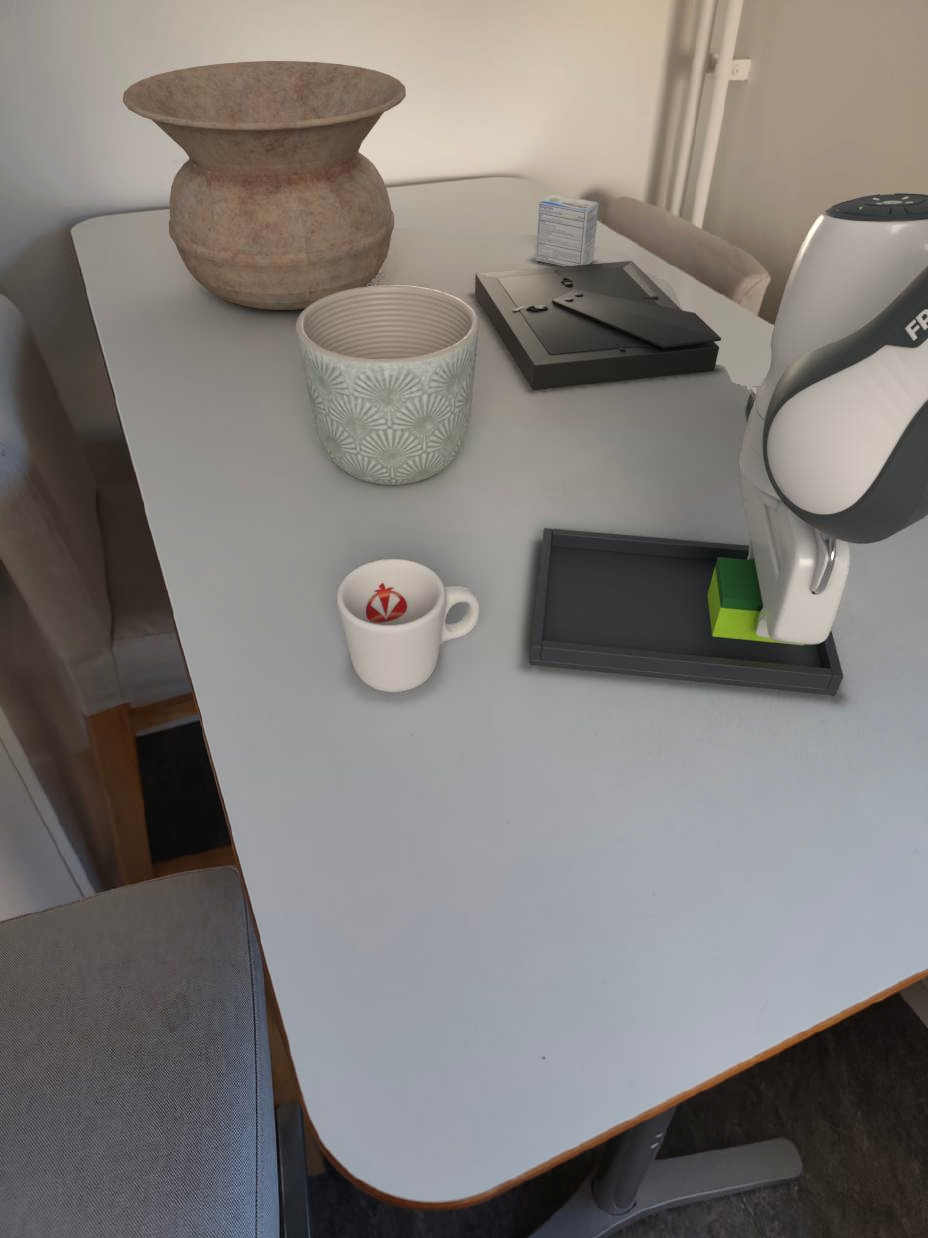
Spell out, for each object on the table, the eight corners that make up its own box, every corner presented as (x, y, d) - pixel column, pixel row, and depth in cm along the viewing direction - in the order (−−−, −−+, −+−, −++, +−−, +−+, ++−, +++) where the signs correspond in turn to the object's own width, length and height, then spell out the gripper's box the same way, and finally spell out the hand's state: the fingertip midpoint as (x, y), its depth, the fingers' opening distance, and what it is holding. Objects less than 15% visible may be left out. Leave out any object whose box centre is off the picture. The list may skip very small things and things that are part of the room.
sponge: (794, 602, 71) (808, 564, 68) (804, 645, 67) (819, 607, 64) (707, 594, 71) (717, 556, 68) (712, 636, 67) (723, 598, 65)
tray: (803, 568, 78) (810, 550, 77) (835, 695, 67) (844, 677, 65) (542, 545, 80) (543, 527, 79) (529, 665, 69) (531, 646, 67)
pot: (320, 232, 141) (302, 50, 124) (461, 295, 122) (463, 92, 106) (124, 285, 124) (72, 83, 107) (254, 369, 105) (217, 140, 88)
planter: (366, 406, 99) (356, 272, 89) (502, 442, 93) (508, 303, 83) (280, 480, 88) (257, 336, 77) (428, 526, 82) (425, 378, 72)
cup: (461, 618, 73) (462, 542, 67) (493, 684, 67) (497, 607, 62) (335, 645, 70) (325, 568, 65) (357, 716, 65) (349, 639, 59)
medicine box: (593, 262, 132) (600, 201, 126) (581, 271, 129) (587, 210, 124) (547, 252, 135) (551, 192, 129) (534, 261, 132) (538, 201, 127)
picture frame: (714, 370, 106) (629, 282, 127) (721, 338, 104) (633, 252, 124) (532, 389, 102) (475, 295, 123) (535, 356, 99) (475, 265, 120)
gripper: (895, 549, 51) (825, 706, 60) (831, 383, 66) (783, 529, 75) (784, 539, 51) (732, 697, 61) (746, 376, 66) (709, 523, 75)
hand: (760, 603), depth 68 cm, fingers closed on sponge, 5 cm apart
